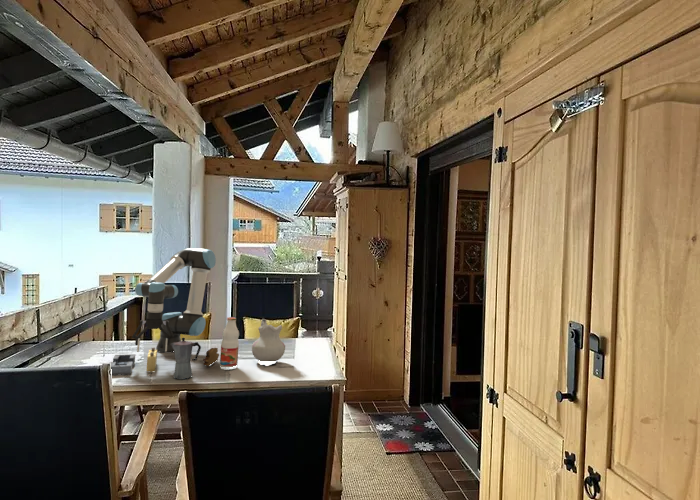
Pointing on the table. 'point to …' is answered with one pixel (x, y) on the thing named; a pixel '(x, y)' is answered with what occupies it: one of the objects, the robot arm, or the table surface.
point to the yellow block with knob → (151, 360)
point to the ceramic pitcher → (268, 343)
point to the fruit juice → (229, 344)
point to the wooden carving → (211, 356)
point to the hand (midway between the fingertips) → (152, 351)
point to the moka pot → (184, 358)
